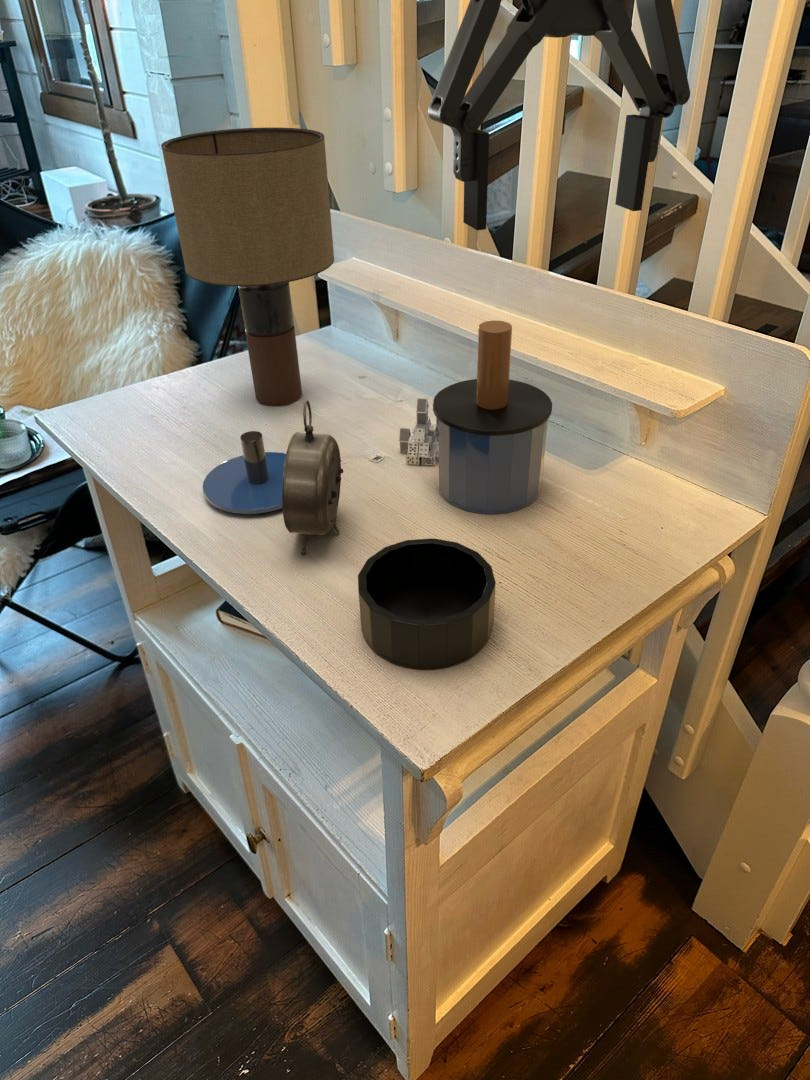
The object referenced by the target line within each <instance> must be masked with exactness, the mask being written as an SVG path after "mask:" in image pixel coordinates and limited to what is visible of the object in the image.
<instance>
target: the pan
mask: <svg viewBox="0 0 810 1080" xmlns="http://www.w3.org/2000/svg"><path fill="white" fill-rule="evenodd" d="M357 585H358V586H357V589H358V590H357V591H358V603H359V615H360V625H361V633H362V635H363V639H364V640H365V642H366V644H367V645H368V646H369V648H370V649H371V650H372V651H373V652H374V653H375V654H376V655H378V656H379V657H380V658H382V659H383V660H386V662H389V663H391V664H393V665H396V666H399V667H403V668H406V669H412V670H421V671H423V670H424V671H426V670H429V671H430V670H431V671H432V670H440V669H446V668H451V667H454V666H457V665H460V664H462V663H464V662H466V661H468V660H470V659H472V658H473V657H475V656H476V655H477V654H478V653H480V652H481V650H482V649H483V648H484V647H486V644H487V643H488V642H489V639H490V637H491V636H492V635H491V634H492V630H493V626H494V620H495V601H496V586H497V585H496V579H495V574H494V571H493V568H492V565H491V564H490V563H489V562H488V561H487V560H486V559H485V558H484V557H483V556H482V555H481V554H480V552H478V551H476V550H475V549H472V548H469V547H467V546H466V545H464V544H462V543H459V542H457V541H450V540H445V539H439V538H419V539H407V540H403V541H400V542H396V543H393V544H391V545H387V546H385V547H383V548H381V549H380V550H379V551H377V552H376V553H374V554H373V555H371V556H370V557H369V558H367V559H366V561H365V562H364V564H363V566H362V568H361V569H360V571H359V573H358V574H357Z"/></svg>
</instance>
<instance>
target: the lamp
mask: <svg viewBox="0 0 810 1080" xmlns="http://www.w3.org/2000/svg"><path fill="white" fill-rule="evenodd" d="M160 147H161V153H162V157H163V162H164V166H165V171H166V172H165V173H166V177H167V183H168V189H169V192H170V198H171V204H172V207H173V213H174V218H175V223H176V228H177V232H178V239H179V243H180V249H181V254H182V260H183V263H184V270H185V274H186V275H187V276H188V277H189V278H190V279H193V280H195V281H197V282H200V283H204V284H208V285H213V286H221V287H222V286H223V287H237V289H238V295H239V301H240V307H241V308H240V309H241V312H242V321H243V325H244V329H245V330H244V333H245V339H246V345H247V352H248V358H249V365H250V372H251V377H252V383H253V389H254V395H255V399H256V401H257V402H258V403H259V404H261V405H265V406H270V407H281V406H286V405H291V404H292V403H295V402H297V401H299V400H300V399H301V397H302V396H303V395H302V394H303V389H302V381H301V371H300V363H299V355H298V347H297V338H296V337H297V336H296V329H295V322H294V321H295V320H294V312H293V304H292V295H291V288H290V287H291V286H290V283H291V282H295V281H299V280H303V279H307V278H310V277H313V276H315V275H318V274H320V273H323V272H324V271H326V270H327V269H329V268H330V267H331V266H332V265H333V264H334V262H335V252H334V241H333V239H334V238H333V227H332V216H331V215H332V214H331V203H330V190H329V180H328V179H329V178H328V177H329V176H328V166H327V155H326V141H325V135H324V133H322V132H320V131H317V130H313V129H306V128H298V127H244V128H229V129H217V130H210V131H203V132H197V133H190V134H185V135H180V136H177V137H174V138H170V139H167V140H165V141H163V142H162V143H161V145H160Z"/></svg>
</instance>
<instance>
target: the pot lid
mask: <svg viewBox="0 0 810 1080" xmlns="http://www.w3.org/2000/svg"><path fill="white" fill-rule="evenodd" d="M239 440H240V445H241V450H242V455H239V456H236V457H232V458H230V459H228V460H226V461H223V462H221V463H220V464H218V465H216V466H215V467H214V468H212V469H211V470H210V471H209V472H208V473H207V474H206V476H205V478H204V479H203V482H202V493H203V495H204V498H205V499H206V501H207V502H208V503H209V504H210V505H212V506H213V507H214V508H216V509H219V510H221V511H224V512H227V513H233V514H240V515H254V514H263V513H268V512H269V513H270V512H273V511H277V510H280V509H281V510H282V509H283V508H282V479H283V469H284V463H285V457H286V452H285V453H284V452H278V451H266V449H265V443H264V437H263V434H262V432H261V431H258V430H249V431H246V432H243V433H242V434H241V435H240V439H239Z"/></svg>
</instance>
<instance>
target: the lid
mask: <svg viewBox="0 0 810 1080" xmlns="http://www.w3.org/2000/svg"><path fill="white" fill-rule="evenodd" d="M477 328H478V331H477V362H476V363H477V365H476V378H473V379H467V380H462V381H459V382H455V383H453V384H450V385H447V386H446V387H444V388H443V389H440V390H439V391H438V392H437V394H436V395H435V396H434V398H433V399H432V411H433V414H434V416H435V418H436V417H437V418H438V419H439V420H440V421H441V422H442V423H444V424H445V425H447V426H449V427H451V428H453V429H456V430H459V431H462V432H466V433H471V434H477V435H490V436H499V435H511V434H517V433H522V432H526V431H529V430H532V429H534V428H536V427H538V426H540V425H542V424H543V423H544V422H546V421H547V420H549V418H550V417H551V415H552V411H553V401H552V399H551V397H550V396H549V395H548V394H547V393H546V392H545V391H543V390H542V389H540V388H538V387H536V386H535V385H532V384H529V383H526V382H523V381H519V380H516V379H515V380H514V379H510V372H511V356H512V355H511V353H512V338H513V325H512V324H511V323H510V322H507V321H505V320H504V321H503V320H486V321H483V322H481V323H479V324H478V327H477Z"/></svg>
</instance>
